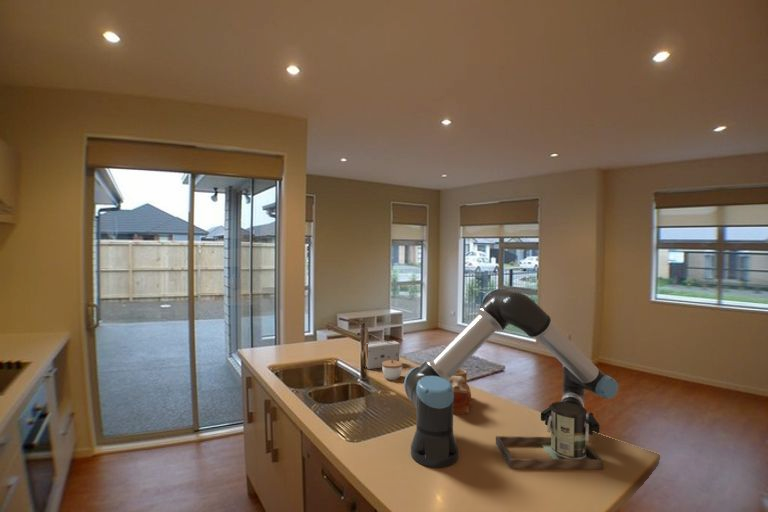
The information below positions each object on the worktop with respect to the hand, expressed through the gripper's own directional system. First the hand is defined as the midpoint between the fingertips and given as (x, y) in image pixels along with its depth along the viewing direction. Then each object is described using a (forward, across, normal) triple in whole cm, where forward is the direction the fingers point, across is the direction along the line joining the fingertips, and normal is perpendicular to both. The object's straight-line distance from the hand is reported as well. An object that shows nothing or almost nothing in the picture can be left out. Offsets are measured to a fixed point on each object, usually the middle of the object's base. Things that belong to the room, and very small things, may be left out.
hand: (567, 432), depth 116 cm
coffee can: (-4, 0, -8) cm, 9 cm away
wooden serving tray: (-1, +6, -9) cm, 11 cm away
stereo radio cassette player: (-54, +99, -10) cm, 113 cm away
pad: (-4, 0, -9) cm, 10 cm away
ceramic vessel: (-24, +45, -10) cm, 52 cm away
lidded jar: (-40, +84, -10) cm, 94 cm away
